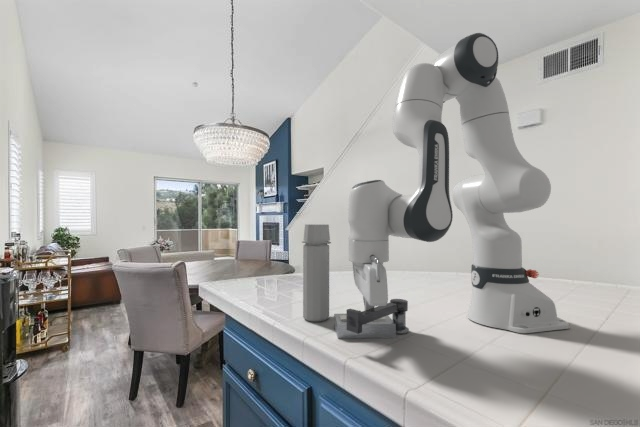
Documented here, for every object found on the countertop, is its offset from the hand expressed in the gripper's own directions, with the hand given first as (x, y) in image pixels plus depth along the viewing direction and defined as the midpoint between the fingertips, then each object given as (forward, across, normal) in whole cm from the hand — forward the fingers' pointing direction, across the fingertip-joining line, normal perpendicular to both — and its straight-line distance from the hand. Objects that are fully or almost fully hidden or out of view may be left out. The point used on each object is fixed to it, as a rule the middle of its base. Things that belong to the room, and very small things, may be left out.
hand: (369, 315), depth 67 cm
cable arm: (+1, -1, -2) cm, 3 cm away
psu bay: (+5, +4, +1) cm, 6 cm away
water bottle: (+5, +15, +11) cm, 19 cm away
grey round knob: (+5, +4, -8) cm, 10 cm away
